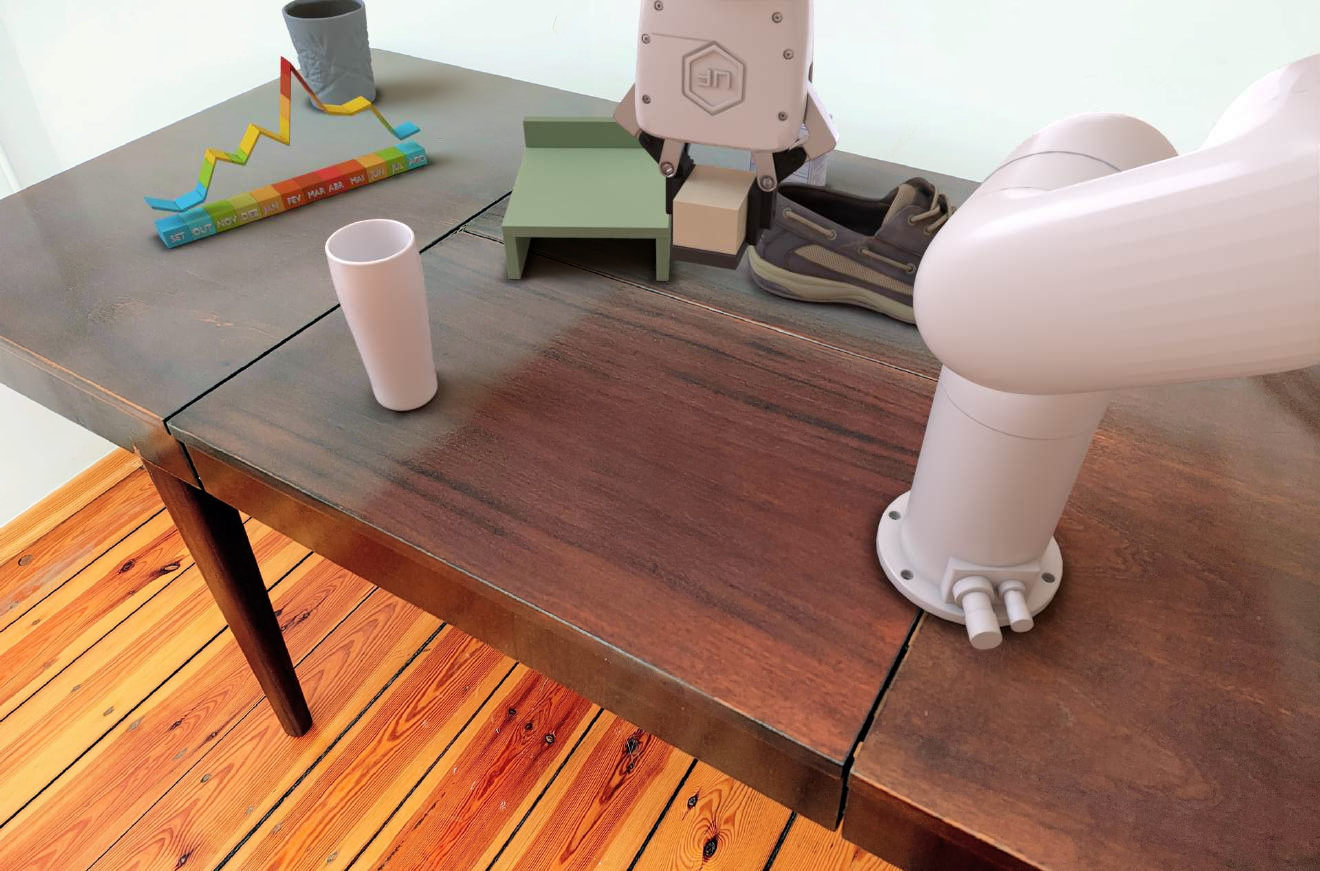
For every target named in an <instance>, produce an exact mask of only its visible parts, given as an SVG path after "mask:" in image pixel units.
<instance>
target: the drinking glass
mask: <svg viewBox="0 0 1320 871" xmlns="http://www.w3.org/2000/svg"><path fill="white" fill-rule="evenodd" d="M415 235H416V234H415V232H414V230H413V229H412V228H411V227H410V226H409V225H407V224H405V223H403V222H401V221H398V220H394V219H388V218H387V219H386V218H373V219H372V218H371V219H365V220H359V221H356V222H352V223H350V224H347V225H344V226H343V227H341V228H339V229H337V230H336V231H334V232H333V233H332V234H330V236H329V237H328V238H327V240H326V242H325V245H324V251H325V255H326V260H327V265H328V270H329V272H330V277H331V280H332V284H333V287H334V291H335V293H336V294H335V295H336V297H337V299H338V302H339V305H340V307H341V310H342V312H343V315H344V318H345V320H346V322H347V325H348V328H349V330H350V332H351V335H352V337H353V338H352V339H353V340H354V342H355V346H356V348H357V350H358V353H359V356H360V358H361V361H362V364H363V366H364V368H365V370H366V373H367V376H368V378H369V379H368V380H369V382H370V384H371V388H372V392H373V395H374V398H375V400H376V401H377V403H379V405H381V406H382V407H384V408H386V409H388V410H391V411H399V412H400V411H401V412H402V411H403V412H404V411H411V410H414V409H415V410H416V409H418V408H421V407H422V406H425V405H426V404H427V403H429V402H430V401H431V400H432V399H433V398H434V397H435V395H436V393H437V390H438V384H439V383H438V377H437V373H436V368H435V361H434V352H433V351H434V350H433V343H432V333H431V325H430V323H431V322H430V314H429V305H428V294H427V287H426V286H427V285H426V279H425V274H424V268H423V263H422V259H421V255H420V254H421V253H420V250H419V247H418V243H417V239H416V236H415Z"/></svg>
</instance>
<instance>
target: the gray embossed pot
mask: <svg viewBox="0 0 1320 871" xmlns="http://www.w3.org/2000/svg"><path fill="white" fill-rule="evenodd" d="M281 14H282V17H283V19H284V20H283V21H284V23H285V25H286V28H287V31H288V34H289V37H290V39H291V43H292V46H293V47H294V49H295V51H296V54H297V61H298V64H299V68H300V71H301V74H302V76H303V79H304V81H305V82H306V83H307V85H308V86H309V87H310V89H311V90H312V91H313V92H314V94H315V95H316V96H317V98H318V99H319V100H320V102H321V103H322V104H327V105H340V106H342V105H343V104H345V103H347V102H350V101H352V100H354V99H356V98H358V97H360V96H362V97H363V98H365V99H366V100H367V101H369V102H370V103H371V104H372V103H373V102H374V101H375V99H376V95H377V92H376V85H375V77H374V71H373V66H372V57H371V56H372V53H371V47H370V40H369V31H368V21H367V20H368V19H367V11H366V4H365V2H364V0H291V1H290V2H288V3H286V4H284V6H282V9H281ZM308 96H309V99H310V103H311V104H312V106H313V107H314V108H316V109H317V110H320V111H323V110H322V109H321V108H319V106H318V105H317V104H316V103H315V101H314V100H313V99H312V97H311V96H310V95H309V94H308Z"/></svg>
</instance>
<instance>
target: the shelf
mask: <svg viewBox="0 0 1320 871" xmlns="http://www.w3.org/2000/svg"><path fill="white" fill-rule="evenodd" d="M522 125H523V134H524V143H525V148H524V152H523V156H522V159H521V162H520V165H519V168H518V172H517V175H516V178H515V182H514V185H513V188H512V192H511V194H510V198H509V201H508V204H507V207H506V210H505V213H504V216H503V221H502V224H501V230H502V238H503V245H504V253H505V261H506V268H507V275H508V279H509V280H521V279H522V274H523V270H524V267H525V263H526V259H527V256H528V252H529V248H530V243H531V240H532V238H578V239H579V238H582V239H583V238H584V239H585V238H588V239H655V253H656V254H655V258H656V259H655V260H656V261H655V262H656V264H655V269H656V271H655V272H656V281H657V282H659V281H660V282H669V279H670V260H671V240H672V239H671V237H672V235H671V234H672V215H669V214H666V177H664V176H663V175H662V174H661V173H660V172H659V165H658V163H657V162H656V161H655V160H654V159H653V158H652V157H651V156H650V154H649V153H648V152H647V151H646V150H645V149H644V148H643V147H642V146H641V144H640V143H639V139H638V138H636V137H633V136H632V135H631V134H630V133H629V132H627V131H626V130H625V129H624V128H623V127H622V126H620V125H619V124H618V123H617V122H616V121H615V120H614V118H613V116H524V117H523V119H522Z"/></svg>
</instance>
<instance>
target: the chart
mask: <svg viewBox="0 0 1320 871" xmlns="http://www.w3.org/2000/svg"><path fill="white" fill-rule="evenodd" d="M279 66H280V69H279V70H280V74H279V75H280V76H279V77H280V78H279V79H280V80H279V134H277V133H274V132H273V131H270V130H268V129H266V128H263V127H261V126H259V125H257V124H255V123H252V122H249V125H248V127H247V129H246V131H245V133H244V135H243V138H242V139H241V141H240V144H239V146H238V148H237V149H236V152H235V153H230V152H227V151H222V150H218V149H213V148H209V147H207V148H206V150H205V153H204V158H203V160H202V164H201V168H200V172H199V176H198V180H197V183H196V186H195V189H193V190H191V191H190V192H188V193H185V194H183V195H181V196H179V197H177V198H175V199H172V200H171V199H166V198H165V199H163V198H157V197H151V196H150V197H149V196H143V198H144V201H145V202H146V203H147V204H148V205H149V207H150V208H151V209H152V210H153V211H162V212H171V213H177V214H173V215H170V216H167V217H163V218H160V219H157V220H154V221H153V223H154V226H155V228H156V230H157V233H158V235H159V238H160V239H161V240H162V241H163V242H164V244H165V245H166V247H167V248H168V249H171V248H175V247H178V246H180V245H183V244H187V243H190V242H193V241H197V240H199V239H202V238H205V237H209V236H211V235H216V234H218V233H221V232H224V231H227V230H229V229H230V230H231V229H233V228H237V227H239V226H242V225H246V224H248V223H251V222H252V223H253V222H255V221H257V220H261V219H263V218H267V217H269V216H273V215H275V214H279V213H282V212H285V211H288V210H291V209H294V208H298V207H300V206H303V205H306V204H309V203H313V202H315V201H319V200H321V199H325V198H327V197H330V196H333V195H337V194H340V193H343V192H345V191H349V190H352V189H355V188H359V187H361V186H364V185H367V184H370V183H374V182H377V181H379V180H383V179H386V178H389V177H391V176H394V175H397V174H400V173H404V172H406V171H409V170H411V169H415V168H417V167H421V166H424V165H427V164H428V160H427V154H426V149H425V147H423V146H422V145H421V144H419V143H418V142H416V141H415V140H414V139H412V140H408V141H405V140H406V139H408V138H410V137H411V136H414V135H416V134H418V133H419V132H421V128H420V127H419V126H418V125H416V124H414V123H413V122H412V121H410V120H408V121H406V122H404V123H402V124H400V125H398V126H396V127H394V128H393V127H392V126H391V125H390V124H389V122H388V121H387V120H386V119H385V118H384V116H383V115H382V114H381V113H380V112H379V110H378V109H377V108H376V107H375V106H374V105H373V103H372V102H371V103H370V102H369V101H367V100H366V99H365V98H363V97H362V96H360V97H358V98H356V99H354V100H352V101H350V102H347V103H345V104H343V105H342V106H340V105H327V104H322V103H321V102H320V100H319V99H318V98H317V96H316V95H315V94H314V92H313V91H312V90H311V89H310V87H309V86H308V85H307V83H306V82H305V78H304V77H302V76H301V74H300V73H299V72H298V70H297V68H296V67H295V66H294V65H293V63H291V61H289V59H287V58H285V57H284V56H283V55H280V65H279ZM292 74H293V75H294V76H295V78H296V79H297V80H298V82H299V83H300V85H301V86H302V87H303V88H304V90H305V91H306V92H307V94H308V96H309V95H310V96H311V97H312V99H313V100H314V101H315V103H316V104H317V105H318V106H319V108H321V109H322V110H321V111H323V112H325V113H326V114H328V115H329V116H343V117H353V116H356V115H358V114H360V113H362V112H364V111H365V110H368V109H369V110H370V111H371V112H372V113H373V114H374V116H375V117H376V118H377V119H378V120H379V122H380V123H381V124H382V125H383V126H384V127H385V129H386V130H387V131H388V132H389V133H390V134H391V135H392V136H394V137H395V138H397V139H398V140H399V141H401V142H402V141H405V142H402V143H399V144H396V145H393V146H391V147H387V148H383V149H380V150H377V151H374V152H372V153H369V154H365V155H362V156H359V157H355V158H351V159H350V160H346V161H343V162H339V163H336V164H333V165H330V166H326V167H324V168H320V169H316V170H314V171H310V172H307V173H305V174H302V175H297V176H294V177H292V178H291V177H290V178H288V179H285V180H282V181H279V182H276V183H273V184H268V185H265V186H263V187H260V188H257V189H253V190H250V191H247V192H244V193H241V194H237V195H234V196H231V197H228V198H224V199H221V200H218V201H215V202H212V203H208V204H205V205H202V206H199V205H201V204H203V203H206V200H207V196H208V192H209V189H210V187H211V182H212V180H213V175H214V172H215V168H216V164H217V161H221V162H225V163H228V164H234V165H239V166H243V167H245V166H246V165H247V164H248V162H249V159H250V157H251V155H252V153H253V151H254V149H255V147H256V145H257V143H258V141H259V139H260V137H261V136H264V137H266V138H269V139H271V140H272V141H273V140H274V141H275V142H278V143H279V144H283V145H285V146H287V147H291V104H292V103H291V102H292V101H291V100H292V99H291V98H292ZM310 96H309V97H310Z"/></svg>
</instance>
